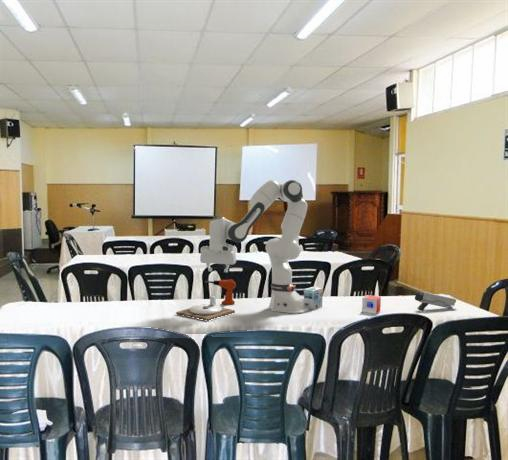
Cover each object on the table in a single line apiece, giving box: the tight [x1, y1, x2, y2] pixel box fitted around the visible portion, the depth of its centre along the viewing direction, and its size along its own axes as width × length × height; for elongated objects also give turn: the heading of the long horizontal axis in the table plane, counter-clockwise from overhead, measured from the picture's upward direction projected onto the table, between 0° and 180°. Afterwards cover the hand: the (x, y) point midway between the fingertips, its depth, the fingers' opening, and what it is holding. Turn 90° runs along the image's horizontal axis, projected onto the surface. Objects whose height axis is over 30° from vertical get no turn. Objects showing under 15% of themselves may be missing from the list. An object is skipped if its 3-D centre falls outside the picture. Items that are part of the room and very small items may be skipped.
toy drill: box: [204, 278, 237, 306], centre depth 277 cm, size 5×19×15 cm, turn 100°
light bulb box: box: [303, 286, 324, 310], centre depth 272 cm, size 11×7×11 cm, turn 143°
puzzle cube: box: [361, 294, 382, 314], centre depth 265 cm, size 8×8×8 cm
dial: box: [189, 295, 223, 315], centre depth 255 cm, size 17×17×6 cm
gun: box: [414, 291, 457, 311], centre depth 271 cm, size 2×25×10 cm, turn 101°
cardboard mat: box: [175, 304, 236, 322], centre depth 255 cm, size 22×22×2 cm
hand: (218, 271), depth 262 cm, fingers open, 8 cm apart
